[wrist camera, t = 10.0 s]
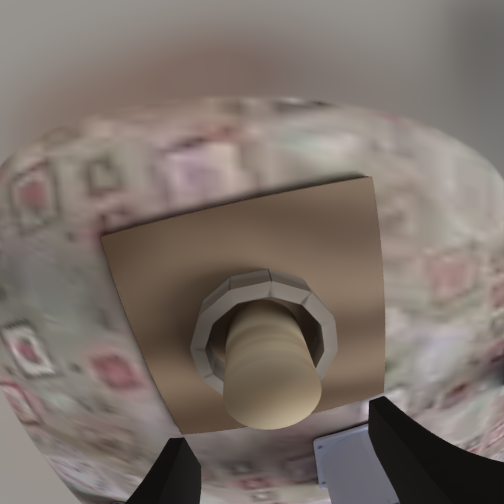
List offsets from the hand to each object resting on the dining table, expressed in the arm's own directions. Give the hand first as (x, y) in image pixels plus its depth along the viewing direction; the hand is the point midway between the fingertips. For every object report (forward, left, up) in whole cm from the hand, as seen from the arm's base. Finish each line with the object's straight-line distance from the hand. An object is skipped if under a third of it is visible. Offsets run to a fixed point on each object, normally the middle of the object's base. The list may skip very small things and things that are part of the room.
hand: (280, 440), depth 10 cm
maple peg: (0, 0, -9) cm, 9 cm away
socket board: (0, 0, -9) cm, 9 cm away
